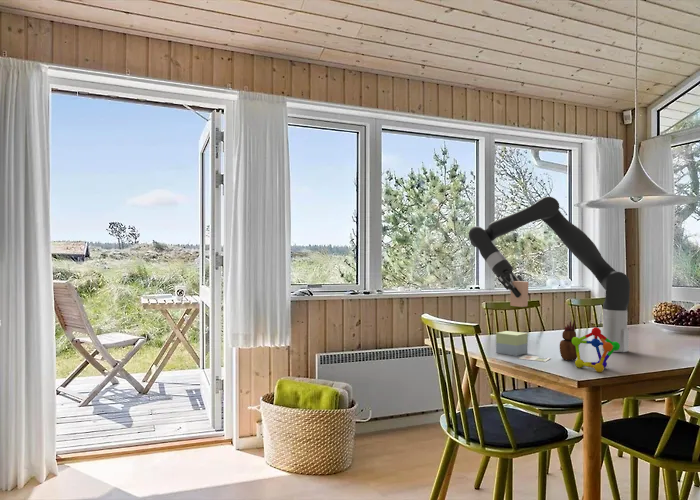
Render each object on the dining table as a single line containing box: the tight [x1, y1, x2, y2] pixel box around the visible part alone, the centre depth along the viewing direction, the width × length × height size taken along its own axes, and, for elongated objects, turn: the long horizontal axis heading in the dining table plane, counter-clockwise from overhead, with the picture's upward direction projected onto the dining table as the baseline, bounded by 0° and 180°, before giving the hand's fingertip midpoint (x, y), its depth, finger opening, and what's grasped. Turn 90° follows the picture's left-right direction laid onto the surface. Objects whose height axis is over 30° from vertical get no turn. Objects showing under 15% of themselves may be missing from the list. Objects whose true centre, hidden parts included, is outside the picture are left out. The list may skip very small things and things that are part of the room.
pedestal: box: [495, 330, 529, 357], centre depth 224 cm, size 9×9×8 cm
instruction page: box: [518, 354, 552, 363], centre depth 213 cm, size 10×8×1 cm
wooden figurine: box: [559, 319, 580, 362], centre depth 212 cm, size 7×6×15 cm
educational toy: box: [572, 326, 620, 373], centre depth 196 cm, size 16×13×15 cm
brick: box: [509, 280, 530, 308], centre depth 226 cm, size 5×5×10 cm
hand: (523, 296), depth 224 cm, fingers closed on brick, 5 cm apart
